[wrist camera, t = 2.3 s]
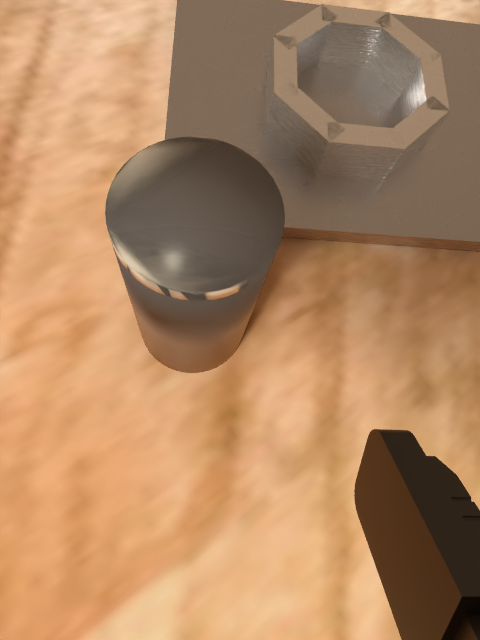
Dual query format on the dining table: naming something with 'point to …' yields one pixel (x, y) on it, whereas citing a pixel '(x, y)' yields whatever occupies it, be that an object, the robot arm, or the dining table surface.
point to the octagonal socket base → (340, 114)
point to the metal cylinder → (194, 245)
